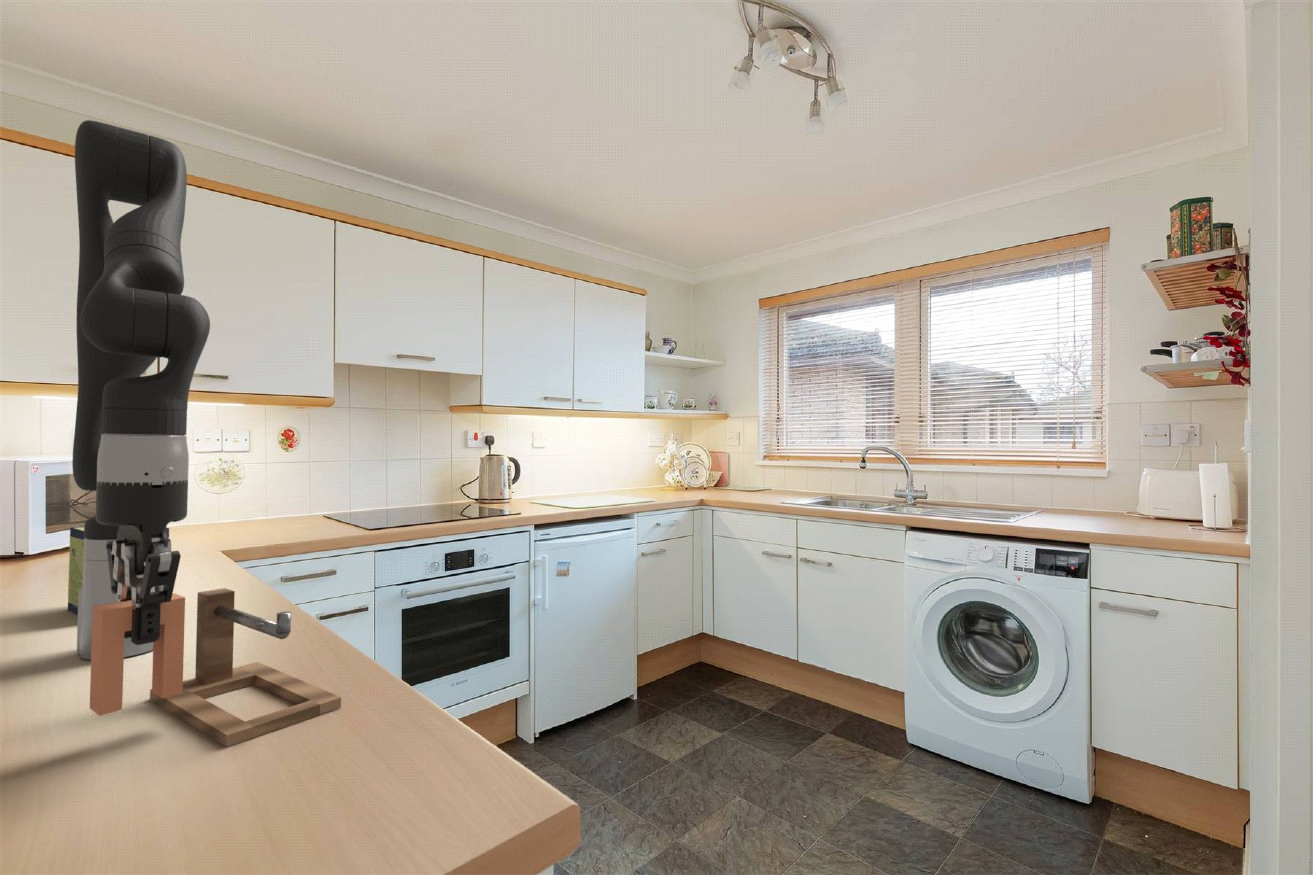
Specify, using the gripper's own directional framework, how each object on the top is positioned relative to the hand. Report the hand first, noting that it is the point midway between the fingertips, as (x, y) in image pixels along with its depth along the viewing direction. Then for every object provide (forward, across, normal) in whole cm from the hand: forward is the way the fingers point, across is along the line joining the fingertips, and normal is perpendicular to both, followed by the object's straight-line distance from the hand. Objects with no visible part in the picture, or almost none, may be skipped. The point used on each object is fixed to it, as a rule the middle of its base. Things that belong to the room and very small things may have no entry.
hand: (139, 638), depth 66 cm
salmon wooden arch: (+7, 0, 0) cm, 7 cm away
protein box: (+12, -65, +16) cm, 68 cm away
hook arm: (+1, +1, +10) cm, 11 cm away
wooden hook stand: (+10, 0, +10) cm, 15 cm away
